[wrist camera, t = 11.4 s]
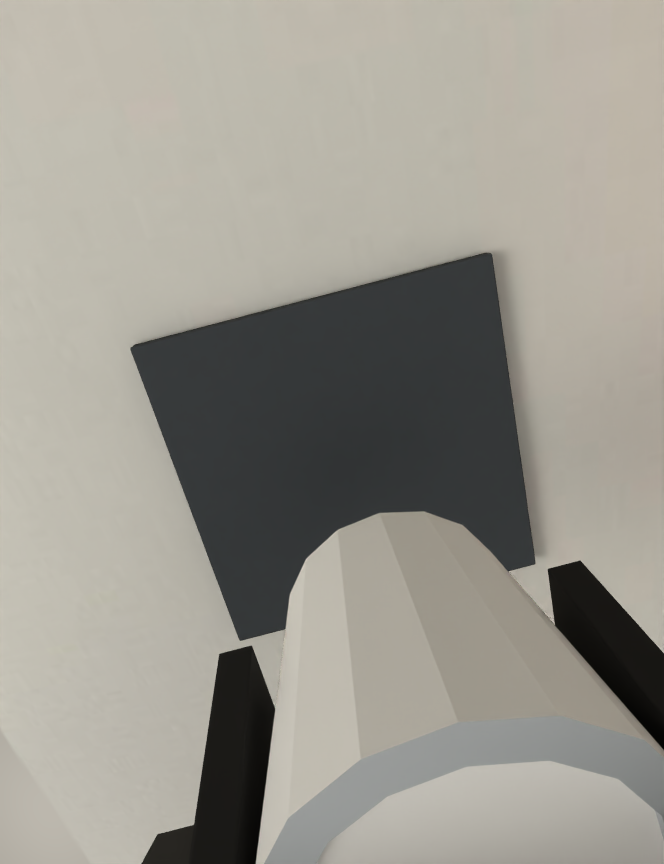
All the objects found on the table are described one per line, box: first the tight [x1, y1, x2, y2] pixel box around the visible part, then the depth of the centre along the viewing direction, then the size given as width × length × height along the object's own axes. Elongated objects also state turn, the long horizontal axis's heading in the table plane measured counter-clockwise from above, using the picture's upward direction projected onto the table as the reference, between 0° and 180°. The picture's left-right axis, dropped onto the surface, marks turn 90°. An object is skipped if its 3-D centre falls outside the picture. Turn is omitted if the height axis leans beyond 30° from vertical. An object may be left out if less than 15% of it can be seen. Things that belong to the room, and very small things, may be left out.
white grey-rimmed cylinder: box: [256, 511, 664, 864], centre depth 12 cm, size 7×7×7 cm
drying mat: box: [131, 253, 535, 641], centre depth 24 cm, size 14×14×1 cm
